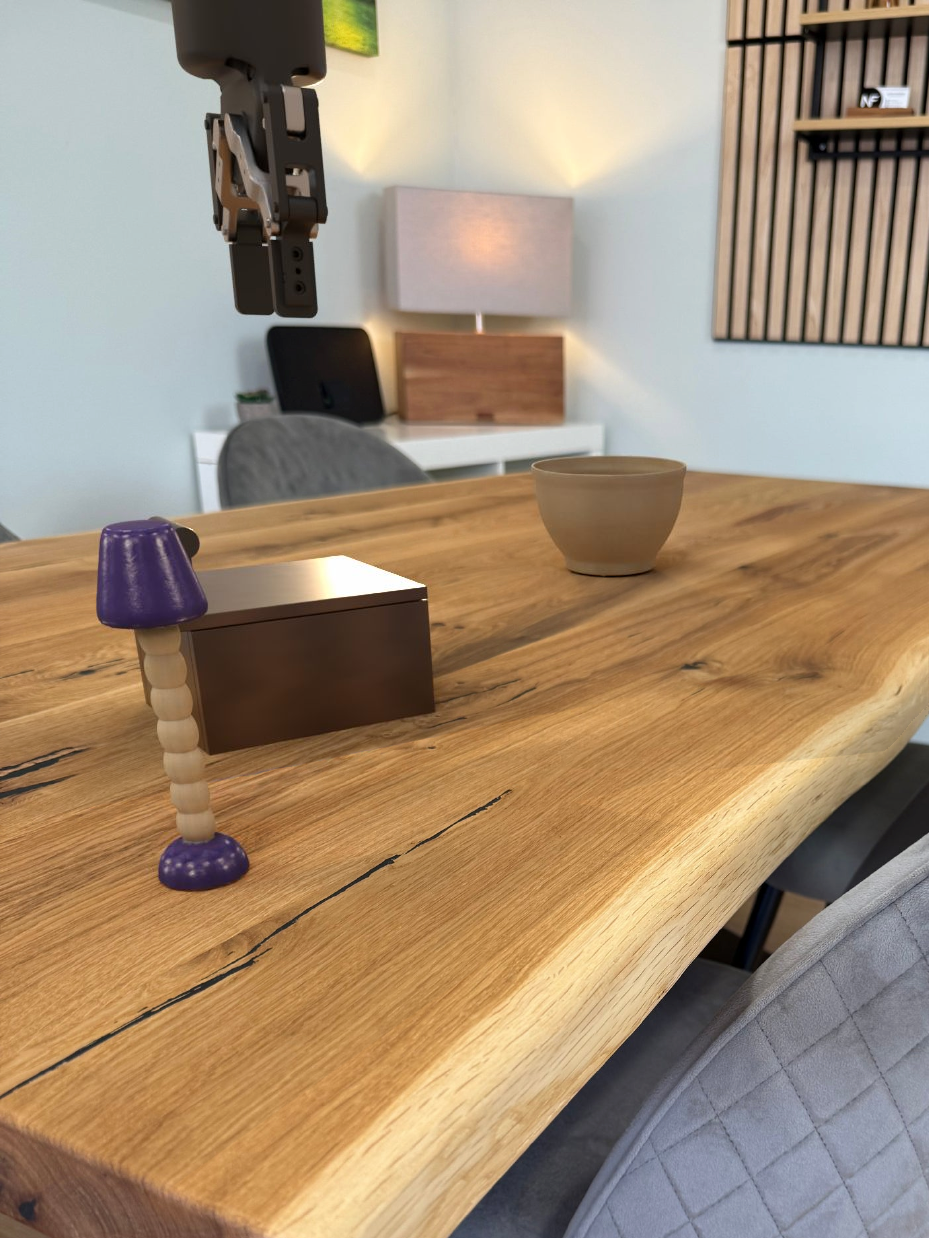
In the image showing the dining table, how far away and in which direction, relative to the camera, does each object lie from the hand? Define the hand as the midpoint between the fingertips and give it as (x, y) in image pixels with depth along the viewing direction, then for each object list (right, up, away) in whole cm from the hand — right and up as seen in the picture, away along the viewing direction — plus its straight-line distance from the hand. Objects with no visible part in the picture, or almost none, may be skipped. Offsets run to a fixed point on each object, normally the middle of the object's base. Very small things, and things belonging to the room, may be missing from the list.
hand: (275, 316), depth 68 cm
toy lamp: (-1, -32, -9) cm, 33 cm away
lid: (-2, -14, +7) cm, 16 cm away
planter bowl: (+17, 0, +62) cm, 64 cm away
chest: (-2, -22, +11) cm, 25 cm away
